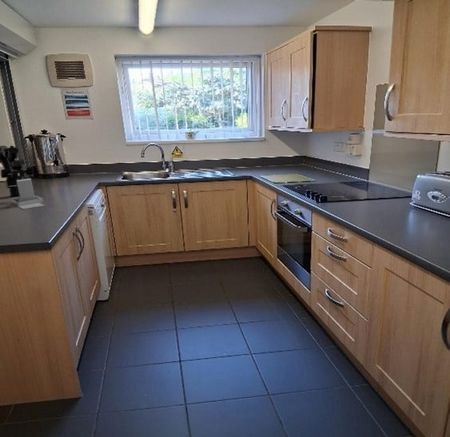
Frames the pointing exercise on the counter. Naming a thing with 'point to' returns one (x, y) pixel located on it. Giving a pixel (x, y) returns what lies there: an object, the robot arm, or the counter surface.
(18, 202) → the light grey flat frame
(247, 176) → the counter surface
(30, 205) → the pad
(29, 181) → the skincare box
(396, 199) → the counter surface
